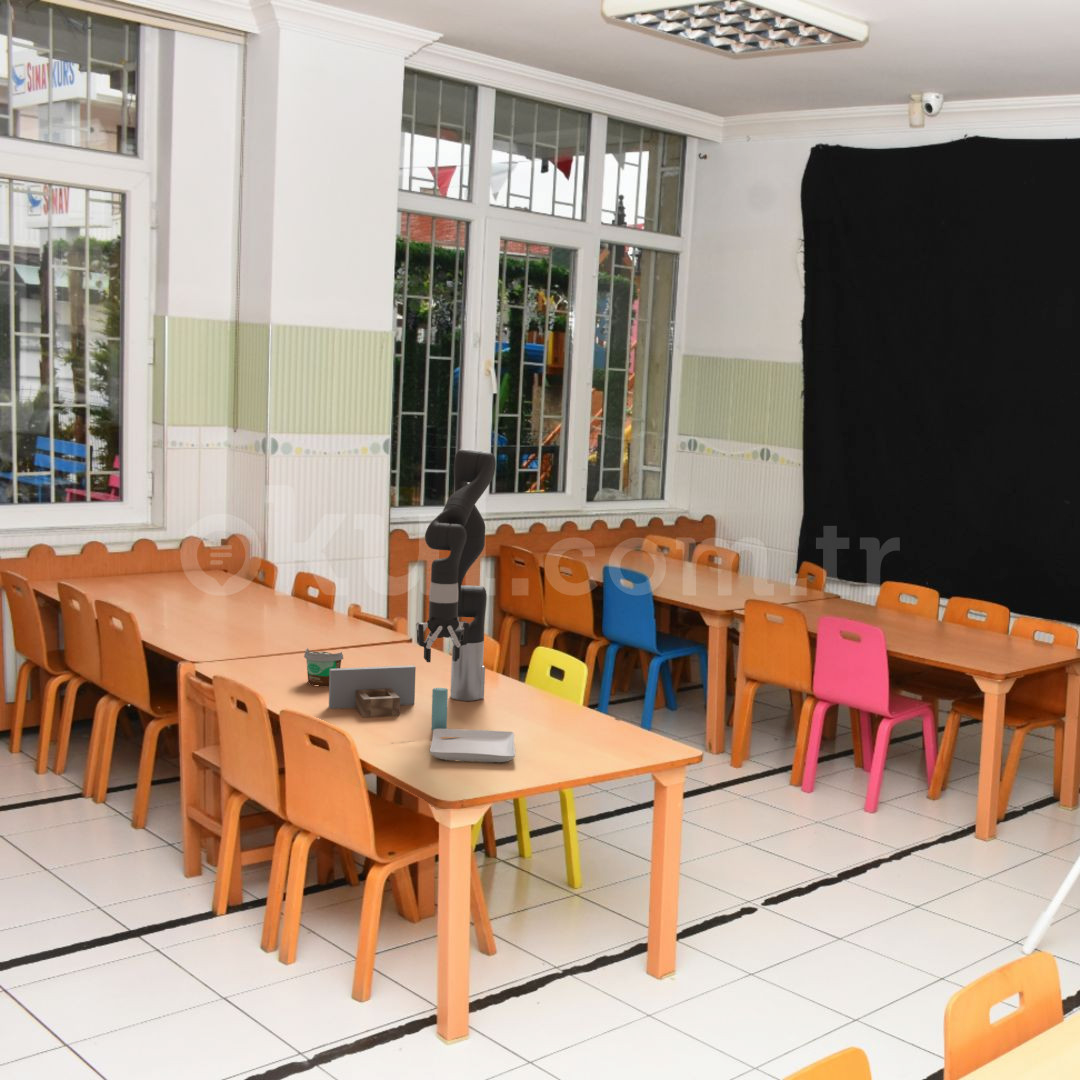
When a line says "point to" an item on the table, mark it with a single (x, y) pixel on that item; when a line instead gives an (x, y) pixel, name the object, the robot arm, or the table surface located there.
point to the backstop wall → (370, 683)
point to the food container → (321, 666)
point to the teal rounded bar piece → (439, 708)
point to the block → (377, 702)
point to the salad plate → (473, 745)
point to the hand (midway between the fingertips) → (441, 661)
